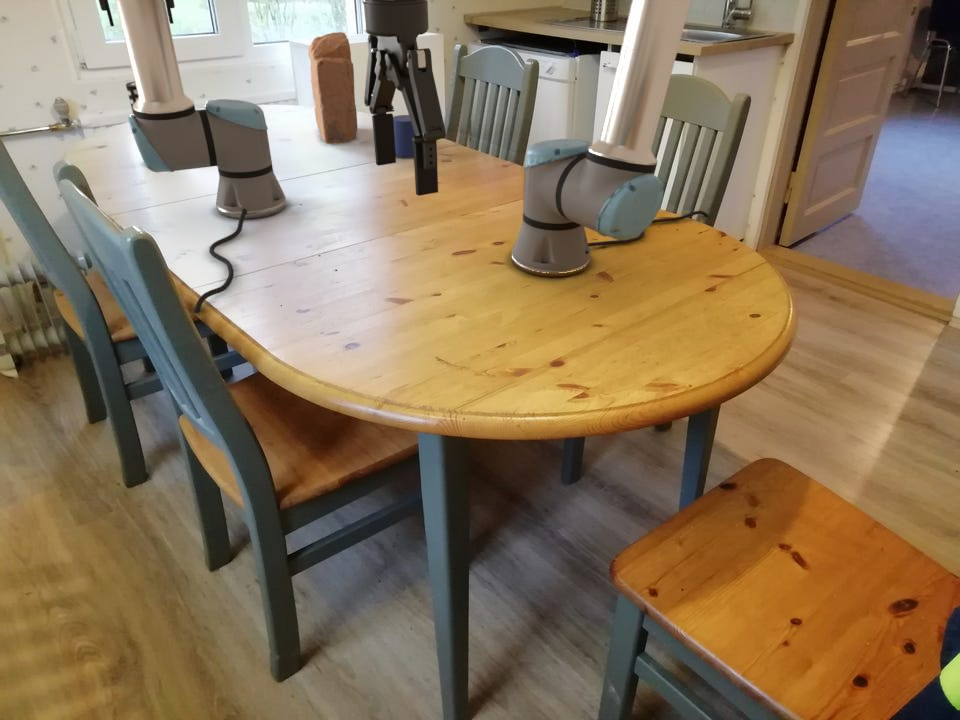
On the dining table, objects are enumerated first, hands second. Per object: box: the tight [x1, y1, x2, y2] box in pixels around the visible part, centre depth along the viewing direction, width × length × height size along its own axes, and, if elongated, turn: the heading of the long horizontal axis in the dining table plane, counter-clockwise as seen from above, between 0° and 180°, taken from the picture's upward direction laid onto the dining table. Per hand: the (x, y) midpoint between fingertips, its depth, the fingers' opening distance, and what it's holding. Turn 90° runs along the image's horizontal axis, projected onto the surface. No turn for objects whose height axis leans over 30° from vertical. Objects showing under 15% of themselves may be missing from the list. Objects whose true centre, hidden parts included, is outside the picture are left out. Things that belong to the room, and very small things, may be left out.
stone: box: [308, 31, 358, 145], centre depth 203 cm, size 22×11×28 cm, turn 18°
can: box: [393, 114, 416, 159], centre depth 192 cm, size 7×7×10 cm
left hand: (142, 24), depth 171 cm, fingers open, 13 cm apart
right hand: (405, 177), depth 90 cm, fingers open, 13 cm apart
